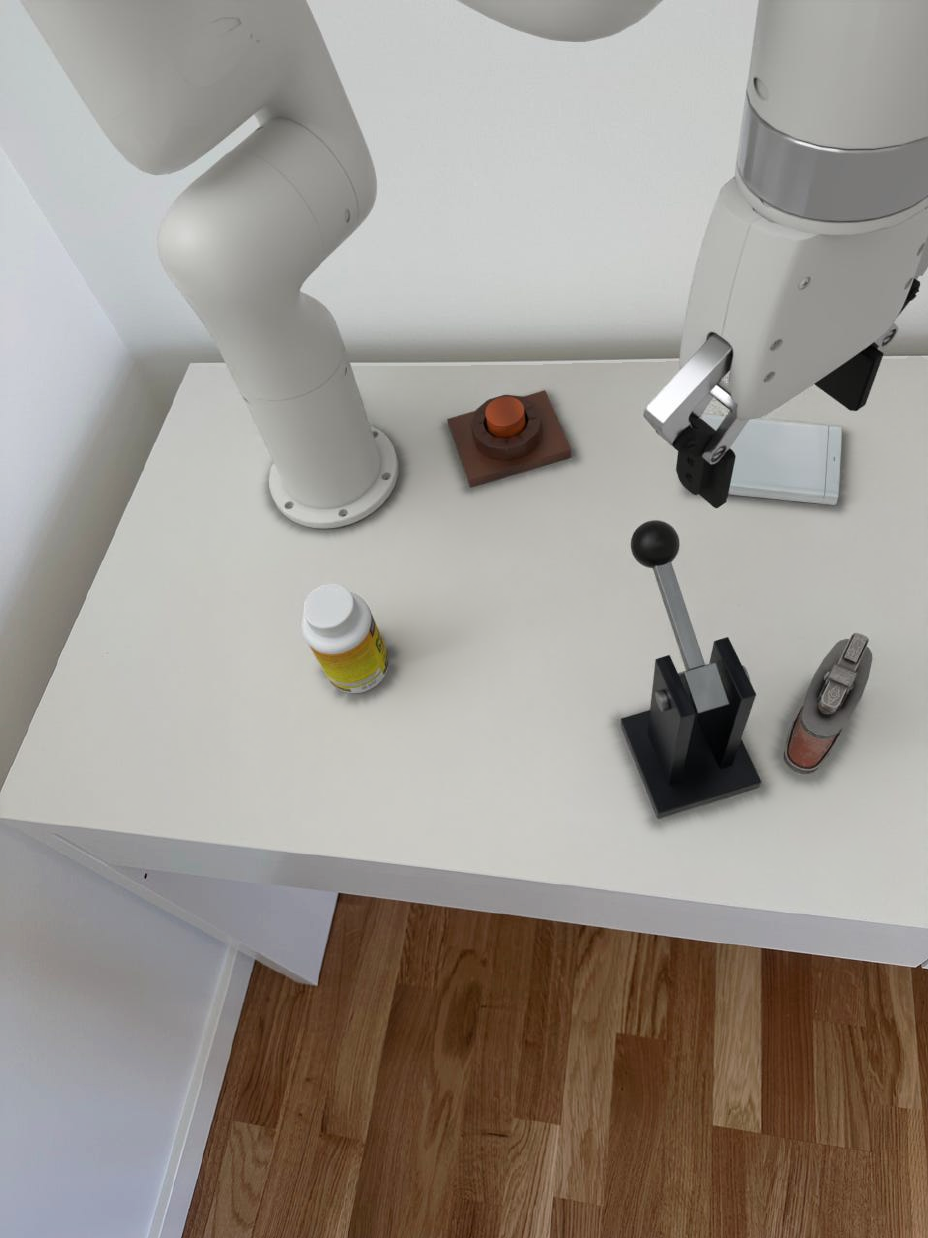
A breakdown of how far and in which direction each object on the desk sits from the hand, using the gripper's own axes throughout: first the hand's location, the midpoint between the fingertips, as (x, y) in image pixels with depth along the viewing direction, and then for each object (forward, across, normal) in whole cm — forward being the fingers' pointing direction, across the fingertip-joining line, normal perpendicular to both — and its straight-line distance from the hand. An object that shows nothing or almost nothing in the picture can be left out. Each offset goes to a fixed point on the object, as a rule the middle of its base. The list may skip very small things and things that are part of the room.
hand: (770, 441), depth 49 cm
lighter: (+29, -3, +8) cm, 30 cm away
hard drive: (+29, -18, -13) cm, 37 cm away
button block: (+29, -2, -30) cm, 42 cm away
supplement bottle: (+29, +22, -19) cm, 41 cm away
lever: (+16, +4, -1) cm, 16 cm away
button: (+26, -2, -31) cm, 40 cm away
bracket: (+29, +6, +4) cm, 29 cm away
